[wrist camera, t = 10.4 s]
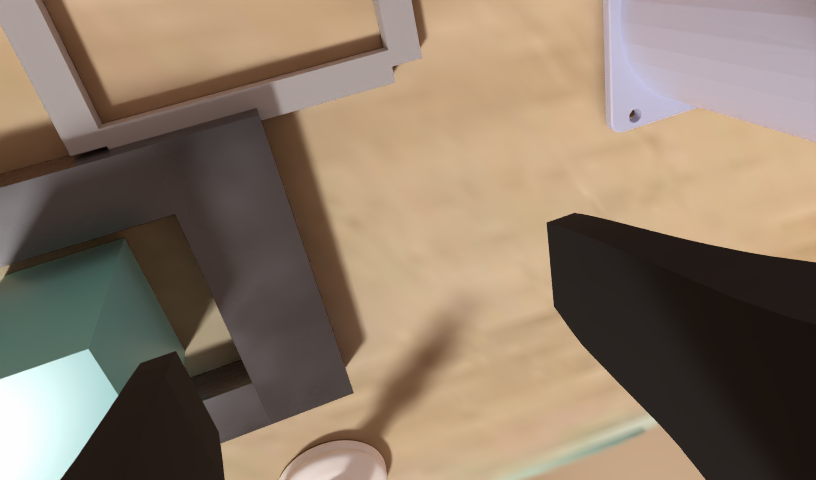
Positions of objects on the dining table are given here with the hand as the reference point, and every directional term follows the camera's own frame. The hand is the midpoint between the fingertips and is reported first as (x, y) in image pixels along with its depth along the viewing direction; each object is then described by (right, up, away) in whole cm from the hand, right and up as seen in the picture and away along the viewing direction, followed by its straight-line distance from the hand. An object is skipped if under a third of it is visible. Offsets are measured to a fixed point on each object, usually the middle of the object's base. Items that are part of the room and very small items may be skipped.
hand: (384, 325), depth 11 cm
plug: (-10, -1, +8) cm, 13 cm away
